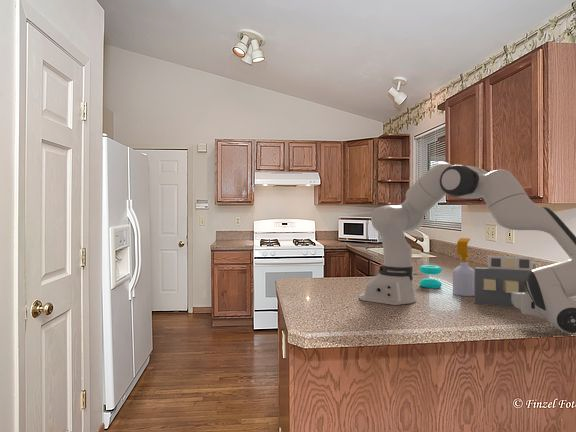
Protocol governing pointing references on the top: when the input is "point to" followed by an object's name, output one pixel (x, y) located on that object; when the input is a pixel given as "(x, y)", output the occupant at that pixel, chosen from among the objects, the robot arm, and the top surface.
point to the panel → (501, 278)
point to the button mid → (510, 286)
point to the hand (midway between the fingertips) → (543, 296)
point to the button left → (489, 284)
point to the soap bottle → (463, 272)
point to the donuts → (432, 270)
